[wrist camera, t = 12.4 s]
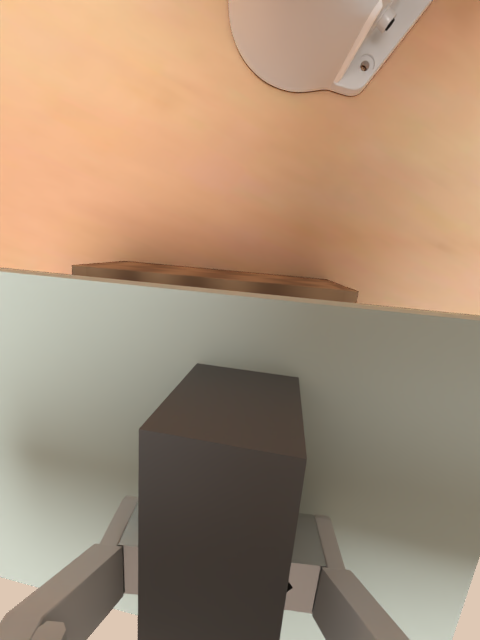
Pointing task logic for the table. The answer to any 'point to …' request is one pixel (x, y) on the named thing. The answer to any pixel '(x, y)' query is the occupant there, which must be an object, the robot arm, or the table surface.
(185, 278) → the toolbox
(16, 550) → the lid
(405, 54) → the table surface
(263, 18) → the robot arm
